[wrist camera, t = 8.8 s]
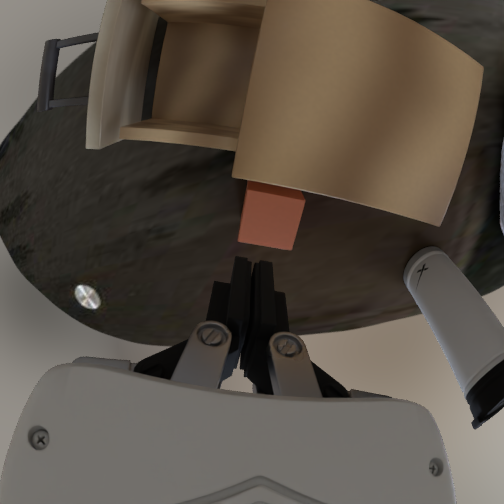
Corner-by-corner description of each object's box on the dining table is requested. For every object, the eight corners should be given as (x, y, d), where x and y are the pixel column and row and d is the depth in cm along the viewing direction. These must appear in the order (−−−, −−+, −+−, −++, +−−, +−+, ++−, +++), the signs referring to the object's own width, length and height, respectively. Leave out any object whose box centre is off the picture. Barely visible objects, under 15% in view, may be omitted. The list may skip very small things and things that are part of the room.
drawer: (69, 131, 20) (21, 148, 14) (84, 21, 14) (38, 10, 8) (283, 152, 22) (293, 174, 16) (310, 27, 16) (331, 0, 10)
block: (240, 218, 26) (237, 241, 22) (249, 173, 24) (247, 189, 20) (286, 226, 26) (291, 250, 23) (298, 183, 24) (305, 200, 20)
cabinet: (240, 149, 23) (231, 177, 15) (267, 14, 16) (273, -27, 9) (391, 186, 24) (439, 227, 16) (422, 67, 17) (484, 67, 10)
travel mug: (398, 256, 28) (486, 413, 11) (444, 238, 26) (546, 369, 9) (401, 296, 31) (465, 438, 14) (443, 278, 29) (519, 403, 12)
